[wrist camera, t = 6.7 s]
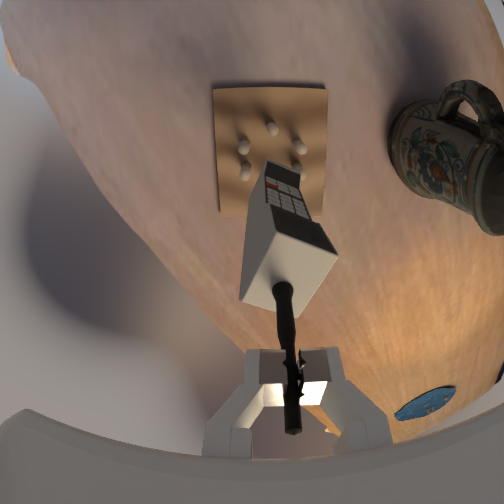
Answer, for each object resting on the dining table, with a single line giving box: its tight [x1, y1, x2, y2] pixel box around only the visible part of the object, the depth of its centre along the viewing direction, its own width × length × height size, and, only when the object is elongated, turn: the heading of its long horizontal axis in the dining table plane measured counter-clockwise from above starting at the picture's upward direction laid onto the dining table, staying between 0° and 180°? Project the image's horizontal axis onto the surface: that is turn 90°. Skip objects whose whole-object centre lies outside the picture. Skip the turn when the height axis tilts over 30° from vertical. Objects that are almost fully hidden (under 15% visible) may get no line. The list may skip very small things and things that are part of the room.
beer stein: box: [388, 80, 504, 236], centre depth 27 cm, size 16×19×25 cm
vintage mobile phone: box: [239, 158, 338, 435], centre depth 19 cm, size 4×5×25 cm
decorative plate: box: [394, 388, 456, 421], centre depth 87 cm, size 30×30×5 cm
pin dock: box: [213, 87, 328, 217], centre depth 38 cm, size 20×16×6 cm
